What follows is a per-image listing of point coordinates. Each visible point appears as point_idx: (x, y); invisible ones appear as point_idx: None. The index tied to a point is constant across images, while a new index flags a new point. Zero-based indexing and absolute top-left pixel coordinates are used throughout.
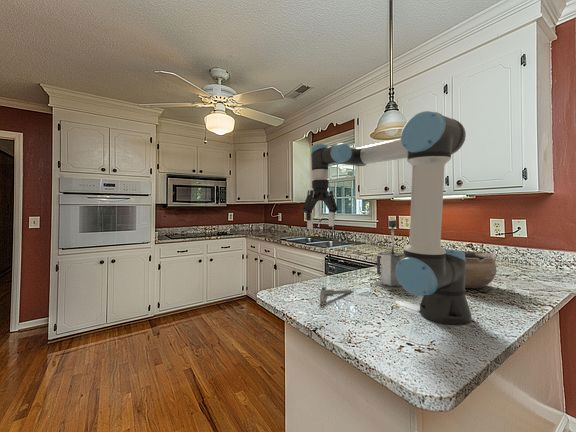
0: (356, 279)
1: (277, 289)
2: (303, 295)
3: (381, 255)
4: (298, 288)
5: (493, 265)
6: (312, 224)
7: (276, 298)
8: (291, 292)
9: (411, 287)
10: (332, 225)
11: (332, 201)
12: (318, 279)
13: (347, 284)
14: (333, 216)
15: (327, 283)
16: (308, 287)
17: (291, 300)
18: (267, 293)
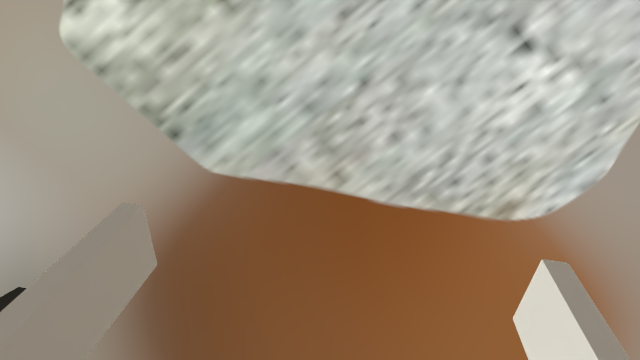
0: (128, 52)
1: (476, 201)
2: (480, 78)
3: None
4: (413, 153)
5: None
6: (574, 300)
7: (577, 132)
8: (475, 139)
9: None
10: (138, 220)
11: None
12: (260, 171)
13: (218, 34)
14: (14, 313)
15: (274, 110)
16: (375, 133)
17: (568, 71)
18: (541, 196)
